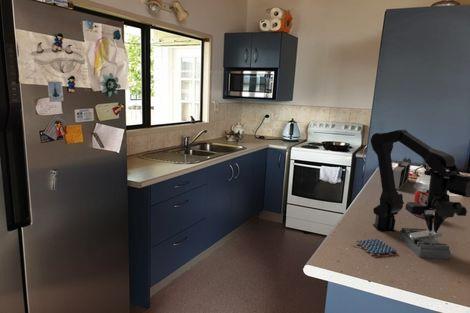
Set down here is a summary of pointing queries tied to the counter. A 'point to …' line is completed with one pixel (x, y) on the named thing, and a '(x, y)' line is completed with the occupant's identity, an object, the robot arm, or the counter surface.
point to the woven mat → (377, 248)
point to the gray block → (425, 234)
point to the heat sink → (424, 245)
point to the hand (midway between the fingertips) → (432, 231)
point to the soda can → (421, 198)
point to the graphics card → (401, 173)
